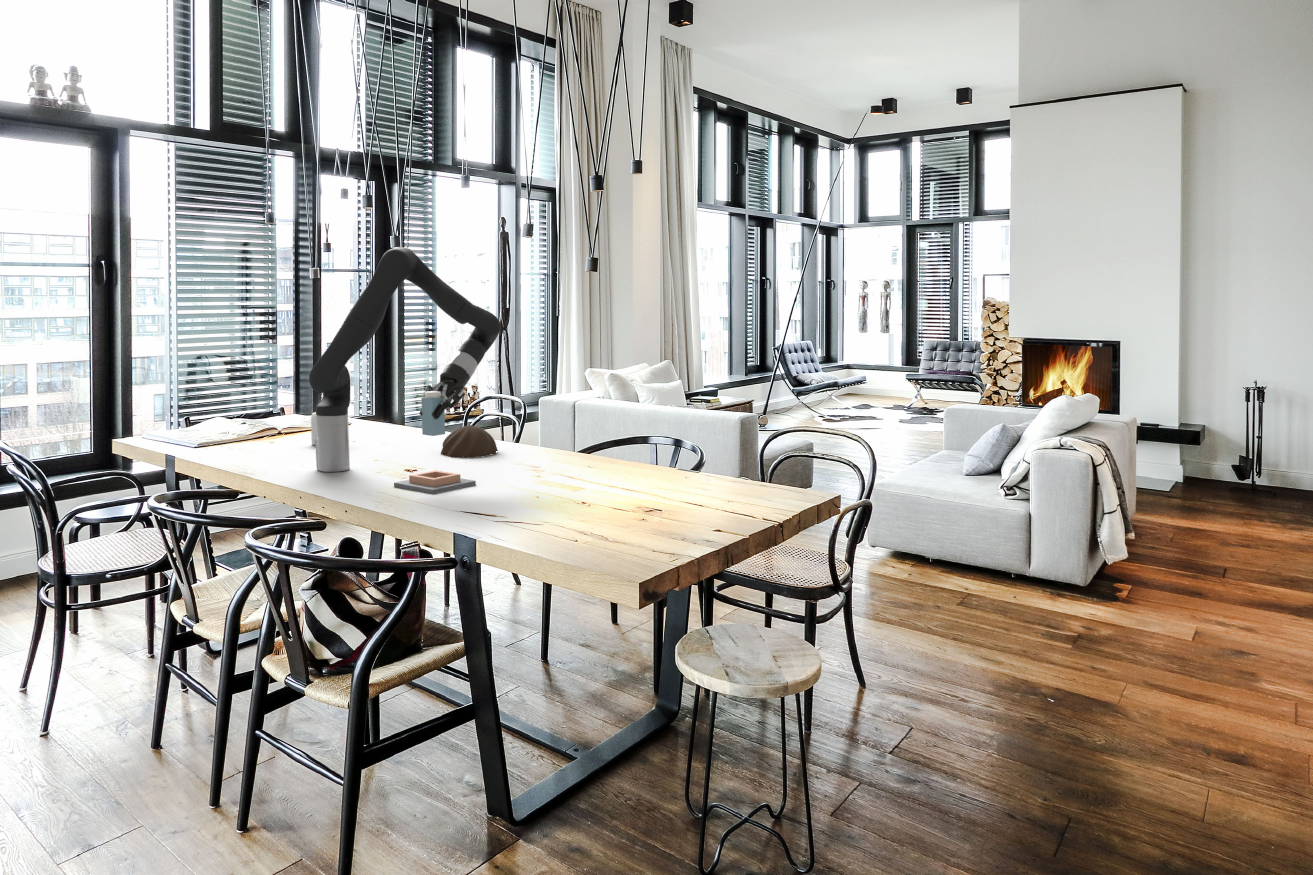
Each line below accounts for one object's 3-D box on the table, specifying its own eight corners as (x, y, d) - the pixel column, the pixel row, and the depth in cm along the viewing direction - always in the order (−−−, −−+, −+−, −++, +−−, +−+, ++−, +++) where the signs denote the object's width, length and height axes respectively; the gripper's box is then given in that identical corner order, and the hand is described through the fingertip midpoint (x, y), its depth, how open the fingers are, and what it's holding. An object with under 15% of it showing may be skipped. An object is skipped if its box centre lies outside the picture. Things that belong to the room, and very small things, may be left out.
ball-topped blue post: (422, 434, 252) (421, 392, 251) (434, 432, 256) (433, 391, 254) (433, 435, 250) (432, 393, 248) (445, 434, 253) (444, 392, 252)
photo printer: (339, 442, 331) (338, 409, 329) (342, 443, 328) (341, 410, 326) (310, 444, 326) (309, 410, 324) (313, 445, 322) (311, 411, 320)
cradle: (394, 486, 253) (393, 475, 252) (437, 478, 266) (436, 467, 266) (433, 494, 244) (432, 482, 244) (475, 484, 257) (475, 473, 257)
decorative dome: (509, 453, 314) (509, 424, 313) (467, 460, 299) (466, 430, 297) (472, 447, 326) (471, 420, 324) (428, 454, 310) (428, 425, 308)
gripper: (434, 361, 260) (403, 406, 252) (469, 363, 252) (438, 410, 244) (448, 378, 265) (418, 423, 257) (483, 381, 257) (453, 427, 249)
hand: (428, 416), depth 251 cm, fingers closed on ball-topped blue post, 4 cm apart
